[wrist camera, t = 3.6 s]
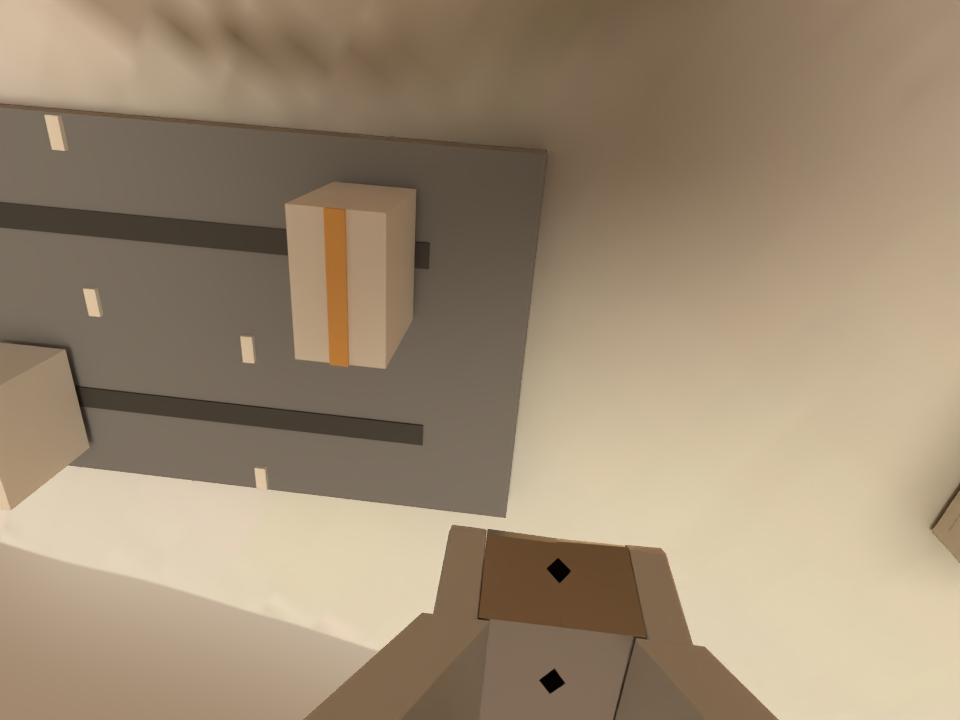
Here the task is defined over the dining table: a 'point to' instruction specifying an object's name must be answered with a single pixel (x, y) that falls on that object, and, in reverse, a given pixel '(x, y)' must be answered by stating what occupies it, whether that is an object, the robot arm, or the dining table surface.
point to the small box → (950, 528)
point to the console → (266, 303)
